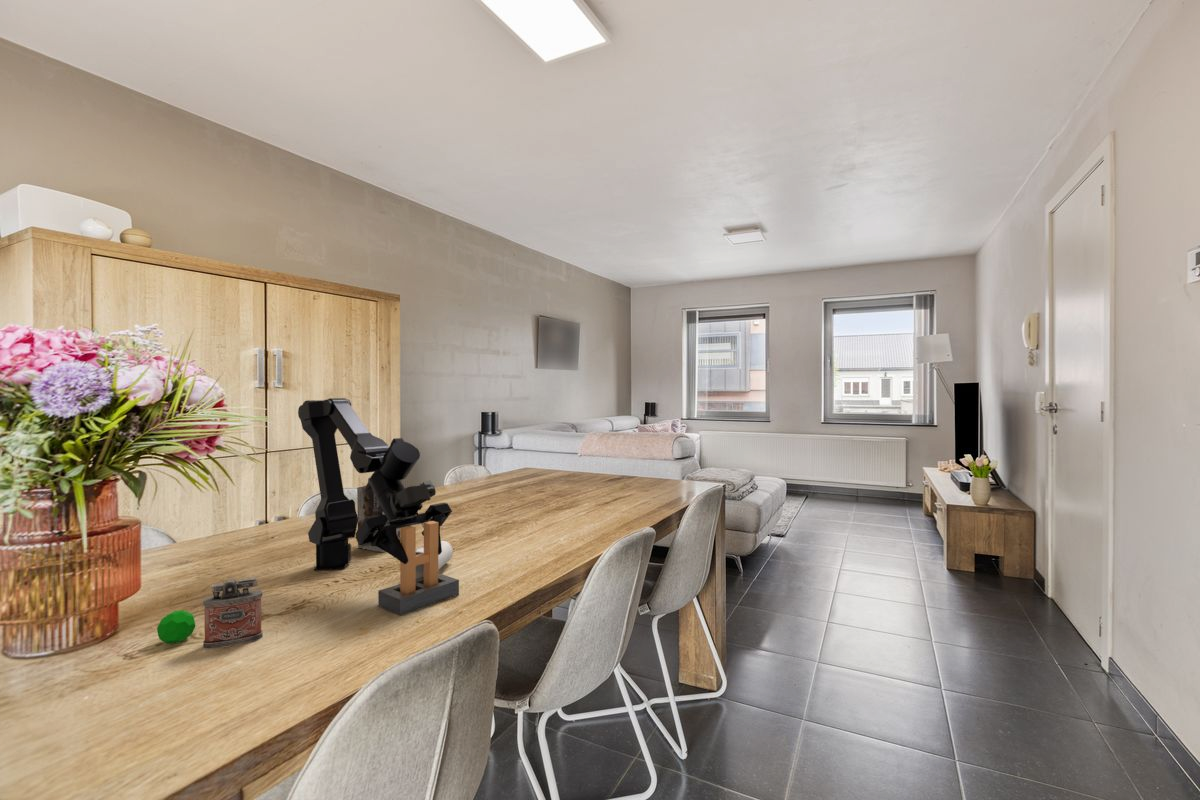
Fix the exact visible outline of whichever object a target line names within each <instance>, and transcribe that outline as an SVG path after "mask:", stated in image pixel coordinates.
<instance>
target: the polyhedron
mask: <svg viewBox="0 0 1200 800" xmlns="http://www.w3.org/2000/svg"><path fill="white" fill-rule="evenodd" d="M195 628H196V621H195V617H194V614H192V613H191V612H189V611H187V610H173V611H172V612H171V613H168V614H167V615H165V616H164V617H163V618H162V619H161V620H160V621H159V623H158V625H157V628H156V631H157V636H158V638H159V640H160V641H162V643H165V644H170V645H172V644H173V645H174V644H180V643H181V642H183V641H185V640H186V639H187V638H189V637H190V636H191V635H192V634H193V633H194V630H195Z"/></svg>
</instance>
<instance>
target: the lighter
mask: <svg viewBox="0 0 1200 800" xmlns="http://www.w3.org/2000/svg"><path fill="white" fill-rule="evenodd" d="M257 586H258V579H257V578H256V577H252V578H250V577H249V578H244V579H240V580H237V581H236V579H233V578H230V579H227V580H226V582H221V583H214V584H212V585H211V592H212V595H211V596H209V597H206V598H204V599H202V605H203V607H204V639H203V645H202V647H203V649H205V650H211V649H218V648H220V649H221V648H225V647H226V648H227V647H232V646H238V645H242V644H243V645H244V644H248V643H252V642H256V641H259V640H260V639H262V638H263V636H264V635H263V630H262V598H263V590H261V589H256V590H249V588H250V589H251V588H256V587H257ZM241 590H242V591H241ZM220 592H221V593H220Z"/></svg>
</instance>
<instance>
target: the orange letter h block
mask: <svg viewBox="0 0 1200 800" xmlns="http://www.w3.org/2000/svg"><path fill="white" fill-rule="evenodd" d="M416 529H417V528H416V527H415V526H413V525H412V526H407V527H402V528H400V542H401V544H402V546H403V548H404V550H405V552H406V555H407V558H408V562H407V564H404V563H402V562H401V561H399V564H400V566H399V568H400V569H399V571H400V573H399V574H400V575H399V577H400V579H399V582H400V583H399V584H400V593H403V594H407V593H410V592H413V591H416V566H417V565H421V564H424V585H426V586H432V585H435V584H438V573H439V571H438V522H435V521H430V522H425V523H424V528H423V530H424V536H423V547H424V553H422V554H419V555H416V548H417V547H416V543H417V542H416V539H417V538H416V537H417V536H416V535H417V534H416V531H417V530H416Z"/></svg>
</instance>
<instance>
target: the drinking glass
mask: <svg viewBox="0 0 1200 800" xmlns="http://www.w3.org/2000/svg"><path fill="white" fill-rule="evenodd" d="M441 547H442V552H441V554H439V555H438V572H439V571H440V569H442V567H444V566H445V564H447V563H448V562H449V561H450V560H452V558H453V554H454V549H453V546H452V544H451V543H450V542H448V541H446V540H441ZM422 553H424V546H421V547H419V548H417V549H416V555H419V554H422ZM421 577H424V564H421V565H417V566H416V579H418V578H421Z"/></svg>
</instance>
